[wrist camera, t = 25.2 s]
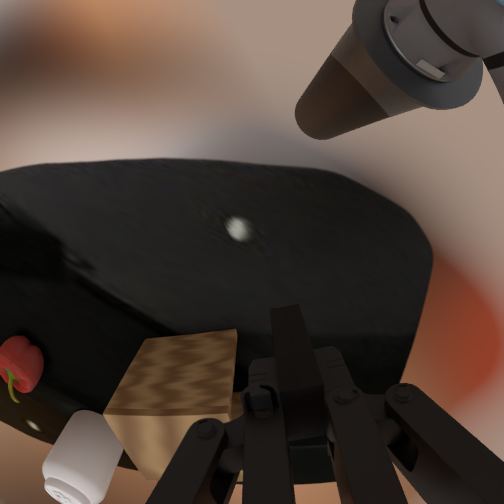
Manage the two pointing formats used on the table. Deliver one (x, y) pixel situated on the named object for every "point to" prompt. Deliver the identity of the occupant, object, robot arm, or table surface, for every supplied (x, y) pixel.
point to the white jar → (82, 460)
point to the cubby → (173, 395)
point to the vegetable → (20, 364)
